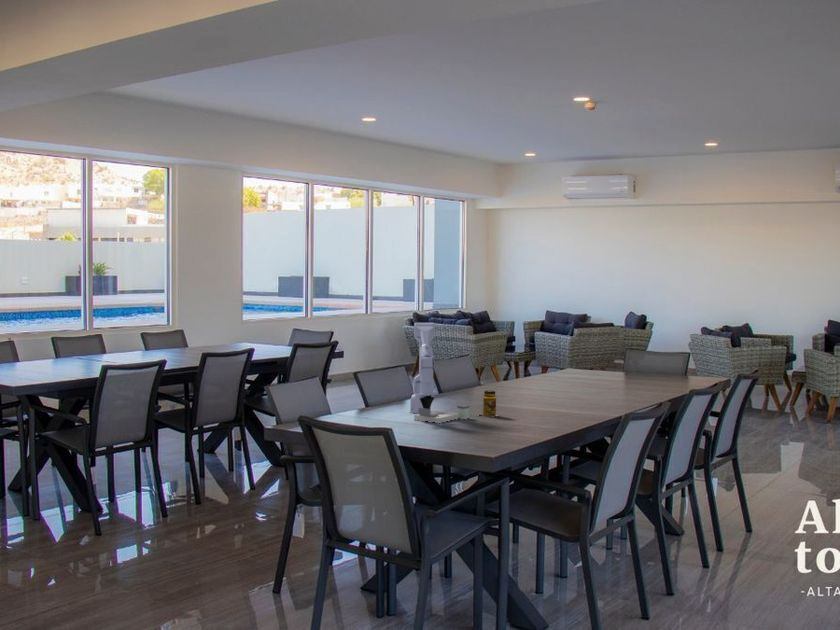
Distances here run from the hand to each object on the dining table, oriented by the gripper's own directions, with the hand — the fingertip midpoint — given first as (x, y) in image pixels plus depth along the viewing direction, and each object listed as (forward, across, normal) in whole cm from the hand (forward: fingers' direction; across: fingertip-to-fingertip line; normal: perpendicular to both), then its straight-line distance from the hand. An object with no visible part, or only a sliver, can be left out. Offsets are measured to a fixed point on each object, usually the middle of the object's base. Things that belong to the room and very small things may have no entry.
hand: (426, 412), depth 382 cm
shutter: (+2, +2, 0) cm, 2 cm away
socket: (+4, +8, 0) cm, 9 cm away
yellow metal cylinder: (+4, +32, -13) cm, 35 cm away
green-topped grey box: (+4, +18, -8) cm, 20 cm away
